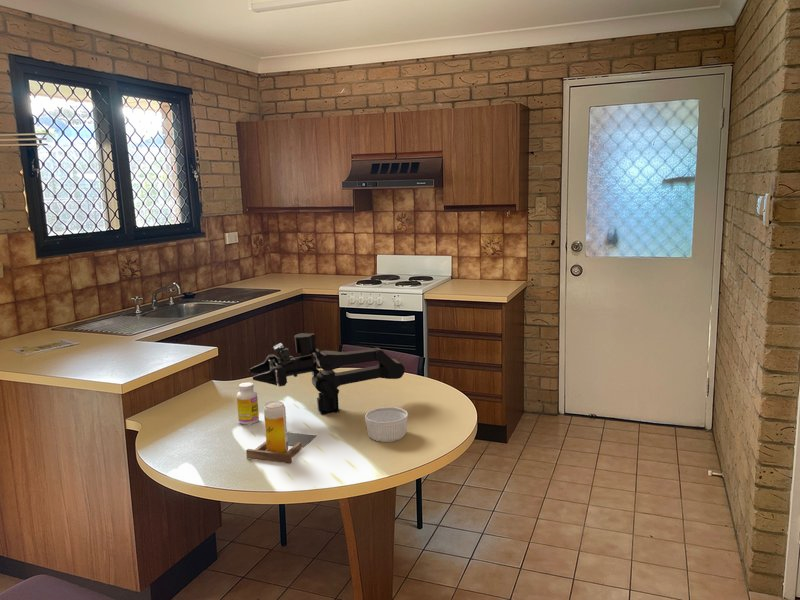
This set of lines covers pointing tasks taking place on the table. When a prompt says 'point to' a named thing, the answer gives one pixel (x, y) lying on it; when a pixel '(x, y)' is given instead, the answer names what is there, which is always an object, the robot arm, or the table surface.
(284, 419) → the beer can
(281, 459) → the frame
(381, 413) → the ramekin
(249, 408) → the supplement bottle
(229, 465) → the table surface
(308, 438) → the mat
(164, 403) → the table surface
